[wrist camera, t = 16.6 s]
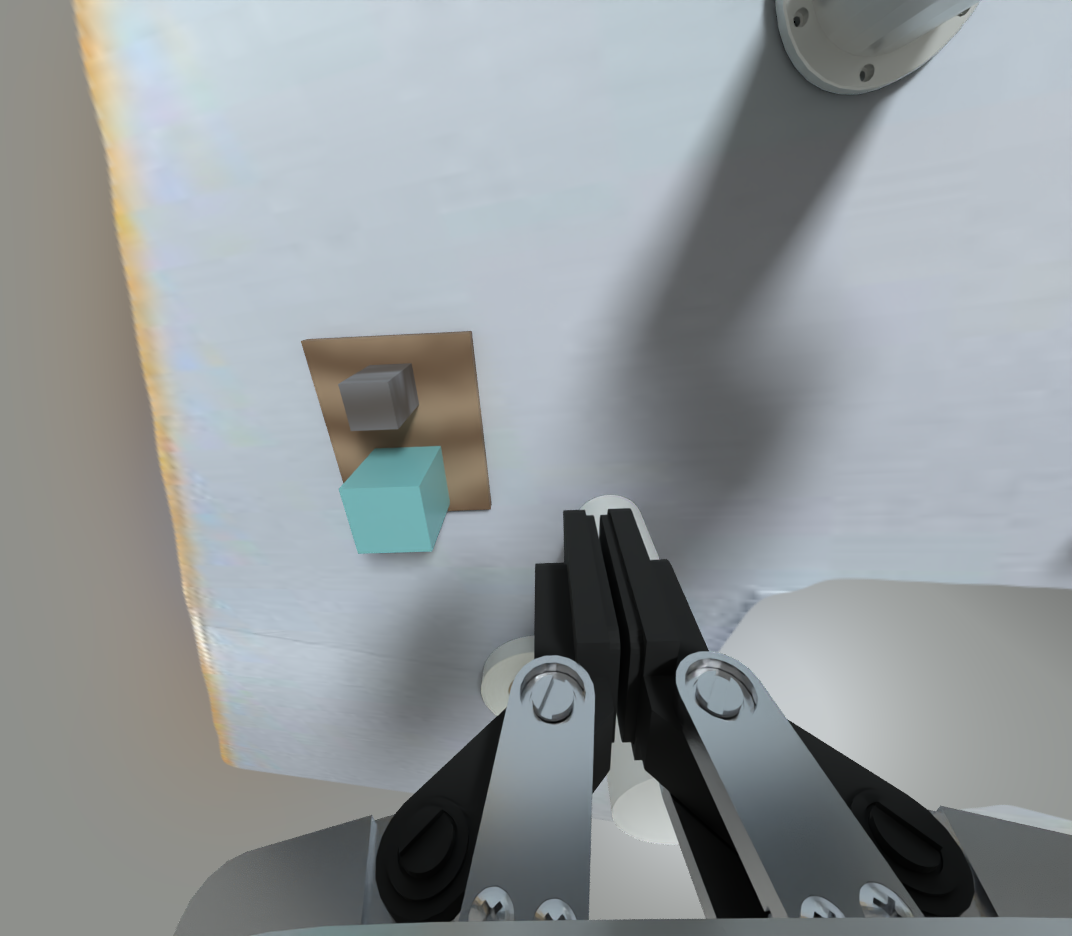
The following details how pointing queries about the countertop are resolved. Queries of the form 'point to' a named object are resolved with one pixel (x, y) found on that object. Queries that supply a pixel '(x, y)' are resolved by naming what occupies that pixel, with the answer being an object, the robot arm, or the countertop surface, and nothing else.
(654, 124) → the countertop surface
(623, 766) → the cylindrical container
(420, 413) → the walnut board
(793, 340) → the countertop surface
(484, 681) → the roll of tape
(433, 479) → the aqua foam cube
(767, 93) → the countertop surface
